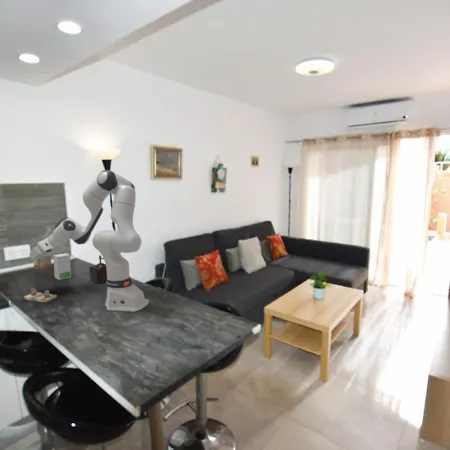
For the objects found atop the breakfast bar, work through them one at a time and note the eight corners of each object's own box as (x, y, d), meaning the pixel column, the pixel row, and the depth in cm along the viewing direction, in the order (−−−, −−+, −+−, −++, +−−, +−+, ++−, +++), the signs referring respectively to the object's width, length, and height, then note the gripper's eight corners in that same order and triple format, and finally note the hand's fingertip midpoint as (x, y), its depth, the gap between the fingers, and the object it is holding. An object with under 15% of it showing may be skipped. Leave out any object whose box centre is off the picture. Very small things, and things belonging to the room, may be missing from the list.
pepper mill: (98, 284, 185) (97, 256, 182) (89, 280, 191) (87, 253, 189) (120, 278, 197) (119, 251, 194) (111, 274, 204) (110, 249, 201)
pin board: (56, 297, 163) (56, 288, 162) (46, 302, 156) (45, 293, 156) (35, 294, 167) (34, 285, 166) (24, 299, 160) (23, 289, 160)
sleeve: (51, 266, 172) (50, 251, 171) (42, 269, 166) (41, 253, 165) (43, 265, 173) (42, 250, 172) (34, 268, 168) (32, 252, 166)
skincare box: (58, 280, 191) (57, 256, 188) (54, 278, 194) (52, 255, 192) (71, 277, 197) (70, 254, 195) (67, 275, 201) (65, 252, 199)
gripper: (65, 236, 175) (52, 251, 179) (35, 242, 156) (22, 259, 160) (71, 244, 175) (59, 258, 179) (42, 251, 155) (29, 268, 159)
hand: (41, 259), depth 169 cm, fingers closed on sleeve, 6 cm apart
